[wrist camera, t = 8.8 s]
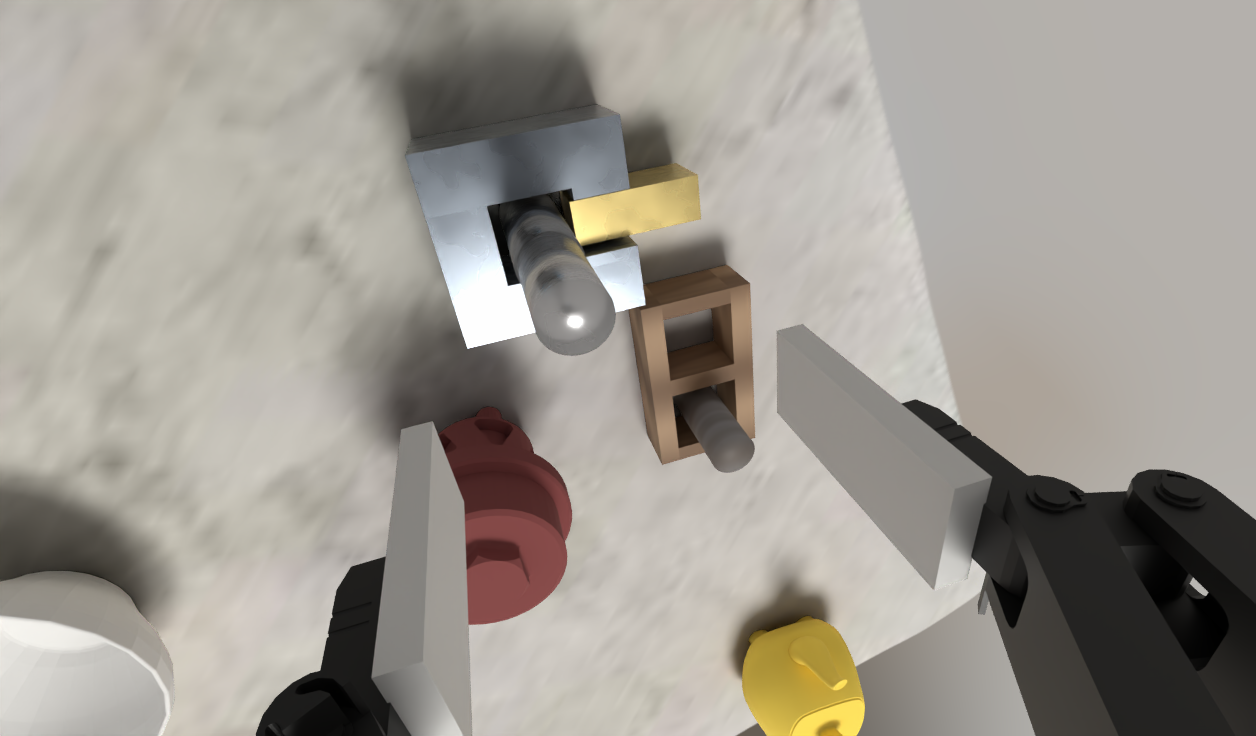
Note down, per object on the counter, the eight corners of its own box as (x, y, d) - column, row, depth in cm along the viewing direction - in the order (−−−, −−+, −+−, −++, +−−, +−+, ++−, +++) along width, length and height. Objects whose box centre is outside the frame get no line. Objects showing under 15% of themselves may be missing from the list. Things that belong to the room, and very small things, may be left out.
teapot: (733, 598, 56) (787, 706, 47) (836, 569, 58) (907, 666, 49) (729, 705, 65) (775, 813, 56) (819, 677, 67) (876, 776, 58)
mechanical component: (389, 495, 40) (418, 370, 37) (530, 508, 44) (569, 397, 40) (369, 653, 30) (406, 502, 26) (555, 653, 34) (611, 521, 30)
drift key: (558, 187, 33) (569, 202, 30) (676, 163, 34) (697, 174, 31) (566, 228, 34) (577, 246, 31) (679, 204, 35) (700, 219, 32)
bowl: (-57, 481, 32) (-169, 579, 26) (251, 563, 40) (217, 653, 34) (-139, 665, 36) (-253, 787, 30) (156, 707, 44) (111, 811, 38)
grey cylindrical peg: (492, 191, 33) (521, 287, 20) (549, 179, 33) (611, 267, 20) (506, 245, 34) (541, 367, 22) (560, 234, 35) (624, 346, 22)
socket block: (410, 139, 30) (404, 155, 26) (597, 104, 32) (619, 114, 28) (465, 311, 35) (467, 348, 31) (623, 274, 37) (645, 304, 33)
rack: (625, 289, 38) (664, 343, 31) (727, 264, 39) (785, 312, 32) (647, 435, 44) (684, 508, 37) (734, 411, 45) (785, 477, 38)
